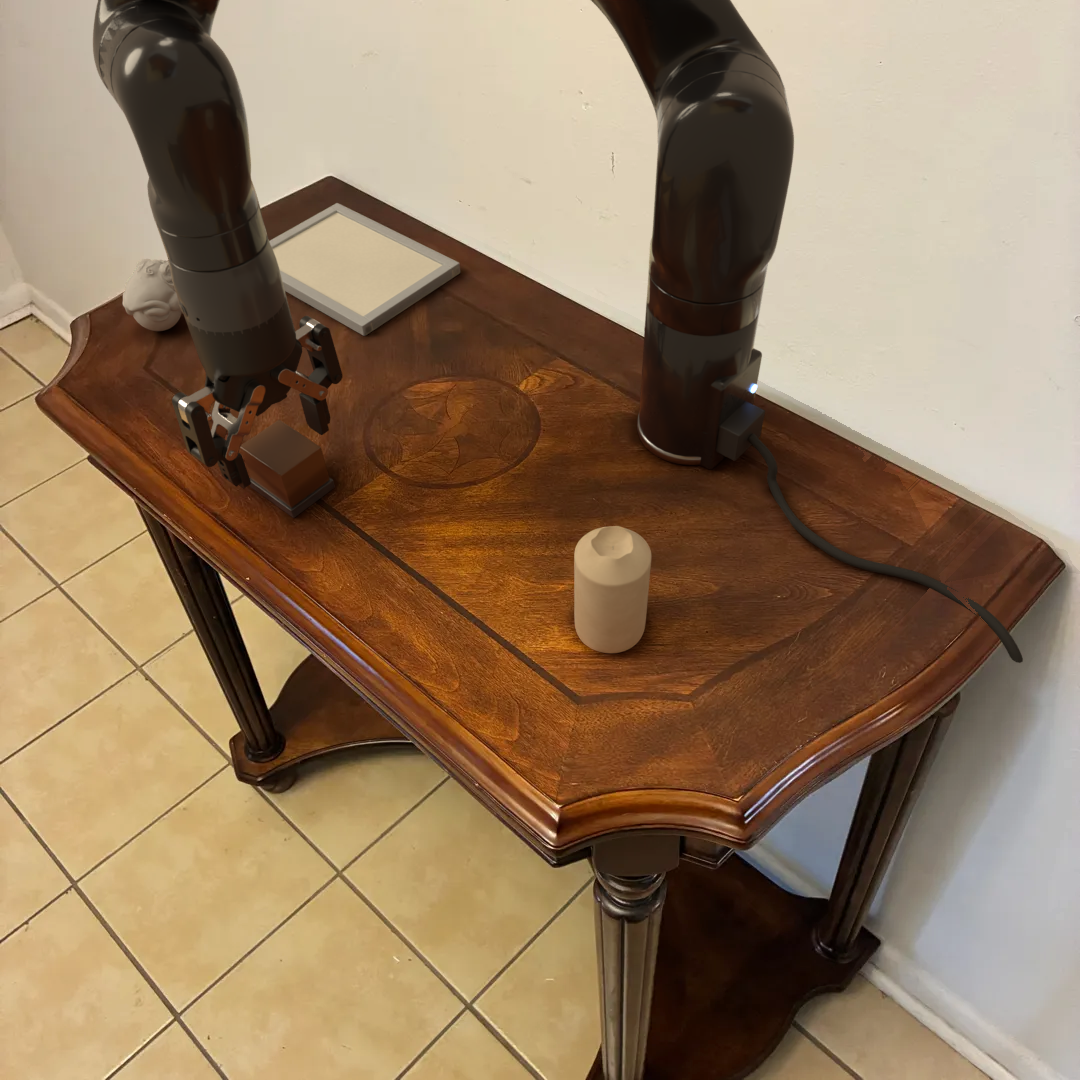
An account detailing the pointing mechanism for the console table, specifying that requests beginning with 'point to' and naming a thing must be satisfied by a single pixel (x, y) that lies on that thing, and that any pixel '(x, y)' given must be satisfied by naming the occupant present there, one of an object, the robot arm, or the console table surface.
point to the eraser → (286, 468)
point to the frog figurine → (152, 295)
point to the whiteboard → (357, 268)
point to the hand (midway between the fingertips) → (280, 455)
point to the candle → (611, 588)
